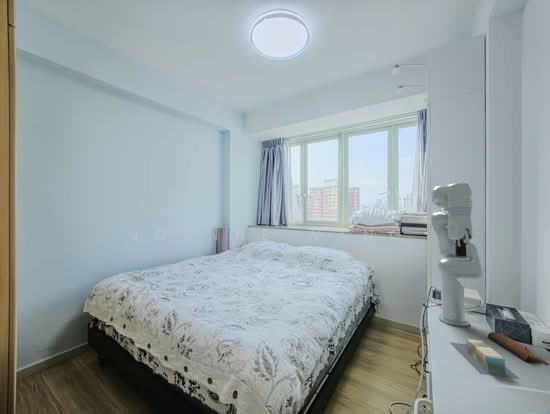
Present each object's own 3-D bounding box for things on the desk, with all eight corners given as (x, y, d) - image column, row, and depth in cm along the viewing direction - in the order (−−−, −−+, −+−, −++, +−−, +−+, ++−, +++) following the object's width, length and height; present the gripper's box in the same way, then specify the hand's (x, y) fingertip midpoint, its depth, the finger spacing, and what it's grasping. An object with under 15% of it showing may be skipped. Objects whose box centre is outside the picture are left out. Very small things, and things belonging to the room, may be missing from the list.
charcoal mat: (449, 343, 97) (449, 342, 97) (480, 347, 94) (480, 345, 94) (480, 375, 77) (480, 373, 77) (520, 380, 75) (519, 378, 75)
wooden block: (466, 338, 90) (487, 357, 78) (481, 340, 89) (504, 359, 77) (467, 352, 90) (487, 372, 78) (482, 353, 88) (505, 374, 77)
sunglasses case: (553, 366, 82) (542, 348, 82) (535, 375, 82) (524, 358, 83) (508, 339, 100) (499, 325, 100) (493, 347, 100) (484, 333, 101)
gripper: (440, 212, 105) (442, 253, 104) (458, 212, 91) (460, 258, 90) (459, 212, 104) (461, 253, 103) (481, 211, 89) (483, 259, 88)
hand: (461, 255), depth 96 cm, fingers closed
